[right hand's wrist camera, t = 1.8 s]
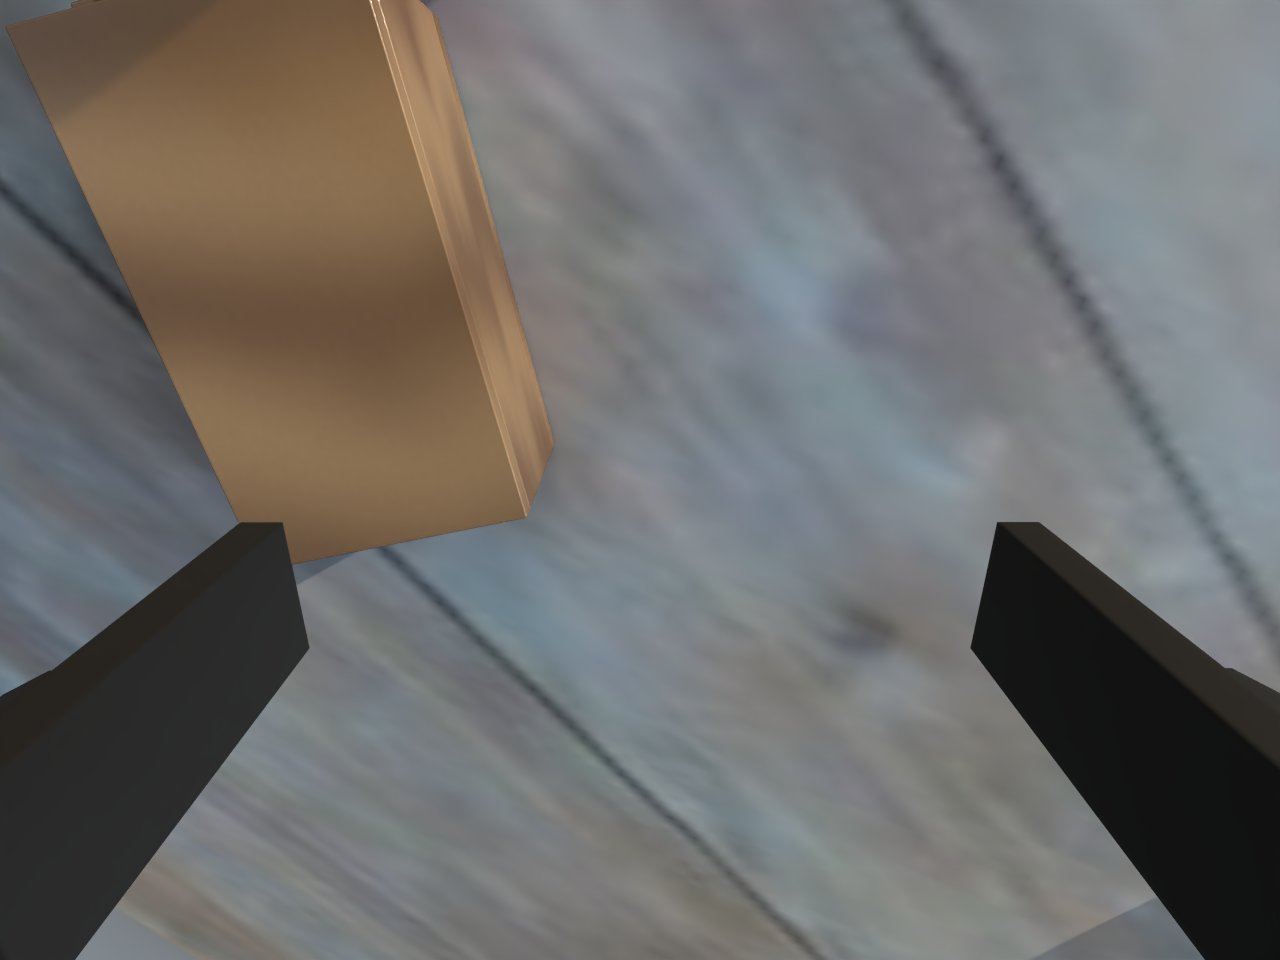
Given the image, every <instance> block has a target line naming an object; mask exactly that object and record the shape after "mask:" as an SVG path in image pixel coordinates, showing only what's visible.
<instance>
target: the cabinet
mask: <svg viewBox="0 0 1280 960" xmlns="http://www.w3.org/2000/svg"><path fill="white" fill-rule="evenodd" d="M6 30H7V32H8V34H9V36H10V38H11V41H12V43H13V45H14V47H15V49H16V51H17V53H18V55H19V58H20V60H21V62H22V64H23V66H24V68H25V70H26V72H27V75H28V77H29V79H30V81H31V83H32V85H33V87H34V89H35V92H36V94H37V96H38V98H39V100H40V102H41V104H42V106H43V109H44V111H45V113H46V115H47V117H48V119H49V121H50V123H51V126H52V128H53V130H54V132H55V134H56V136H57V138H58V140H59V143H60V145H61V147H62V149H63V151H64V153H65V155H66V157H67V160H68V162H69V164H70V166H71V168H72V170H73V172H74V174H75V176H76V179H77V181H78V183H79V185H80V187H81V189H82V191H83V193H84V196H85V198H86V200H87V202H88V204H89V206H90V208H91V210H92V213H93V215H94V217H95V219H96V221H97V223H98V225H99V227H100V230H101V232H102V234H103V236H104V238H105V240H106V242H107V244H108V247H109V249H110V251H111V253H112V255H113V257H114V259H115V261H116V264H117V266H118V268H119V270H120V272H121V274H122V276H123V278H124V281H125V283H126V285H127V287H128V289H129V291H130V293H131V295H132V298H133V300H134V302H135V304H136V306H137V308H138V310H139V312H140V315H141V317H142V319H143V321H144V323H145V325H146V327H147V329H148V332H149V334H150V336H151V338H152V340H153V342H154V344H155V346H156V349H157V351H158V353H159V355H160V357H161V359H162V361H163V363H164V365H165V368H166V370H167V372H168V374H169V376H170V378H171V380H172V382H173V385H174V387H175V389H176V391H177V393H178V395H179V397H180V399H181V402H182V404H183V406H184V408H185V410H186V412H187V414H188V416H189V419H190V421H191V423H192V425H193V427H194V429H195V431H196V433H197V436H198V438H199V440H200V442H201V444H202V446H203V448H204V450H205V453H206V455H207V457H208V459H209V461H210V463H211V465H212V467H213V470H214V472H215V474H216V476H217V478H218V480H219V482H220V484H221V487H222V489H223V491H224V493H225V495H226V497H227V499H228V501H229V504H230V506H231V508H232V510H233V512H234V514H235V516H236V518H237V521H238V523H241V522H283V526H284V531H285V535H286V540H287V545H288V549H289V554H290V559H291V564H297V563H302V562H307V561H312V560H317V559H322V558H327V557H332V556H337V555H342V554H347V553H352V552H357V551H362V550H367V549H372V548H377V547H382V546H387V545H392V544H397V543H402V542H407V541H412V540H417V539H422V538H427V537H432V536H437V535H442V534H447V533H452V532H457V531H462V530H467V529H472V528H477V527H482V526H487V525H492V524H497V523H502V522H507V521H512V520H517V519H522V518H526V517H527V516H528V513H529V510H530V508H531V505H532V503H533V500H534V497H535V495H536V492H537V489H538V487H539V484H540V481H541V479H542V476H543V473H544V471H545V468H546V465H547V462H548V460H549V457H550V454H551V452H552V449H553V446H554V440H553V436H552V432H551V429H550V425H549V421H548V418H547V414H546V410H545V407H544V403H543V399H542V396H541V392H540V389H539V385H538V381H537V378H536V374H535V370H534V367H533V363H532V359H531V356H530V352H529V349H528V345H527V341H526V338H525V334H524V330H523V327H522V323H521V319H520V316H519V312H518V308H517V305H516V301H515V298H514V294H513V290H512V287H511V283H510V279H509V276H508V272H507V268H506V265H505V261H504V258H503V254H502V250H501V247H500V243H499V239H498V236H497V232H496V228H495V225H494V221H493V217H492V214H491V210H490V207H489V203H488V199H487V196H486V192H485V188H484V185H483V181H482V177H481V174H480V170H479V166H478V163H477V159H476V156H475V152H474V148H473V145H472V141H471V137H470V134H469V130H468V126H467V123H466V119H465V116H464V112H463V108H462V105H461V101H460V97H459V94H458V90H457V86H456V83H455V79H454V75H453V72H452V68H451V65H450V61H449V57H448V54H447V50H446V46H445V43H444V39H443V35H442V32H441V28H440V25H439V21H438V18H437V17H436V16H435V15H434V14H433V13H432V12H431V11H430V10H429V9H428V8H427V7H426V6H425V5H424V4H423V3H422V2H421V1H420V0H101V1H97V2H93V3H90V4H86V5H82V6H79V7H75V8H71V9H68V10H64V11H60V12H57V13H53V14H49V15H46V16H42V17H38V18H35V19H31V20H28V21H24V22H20V23H17V24H13V25H9V26H6Z"/></svg>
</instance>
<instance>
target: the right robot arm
mask: <svg viewBox="0 0 1280 960" xmlns="http://www.w3.org/2000/svg"><path fill="white" fill-rule="evenodd" d="M308 649H309V644H308V639H307V634H306V629H305V625H304V620H303V615H302V611H301V606H300V601H299V597H298V592H297V587H296V582H295V578H294V573H293V568H292V564H291V559H290V554H289V549H288V545H287V540H286V535H285V531H284V526H283V522H241V523H239V524H238V525H237V526H236V527H234V528H233V529H232V530H230V531H229V532H228V533H227V534H225V535H224V536H223V537H222V538H220V539H219V540H218V541H216V542H215V543H214V544H213V545H211V546H210V547H209V548H208V549H206V550H205V551H204V552H202V553H201V554H200V555H199V556H197V557H196V558H195V559H194V560H192V561H191V562H190V563H188V564H187V565H186V566H185V567H183V568H182V569H181V570H180V571H178V572H177V573H176V574H174V575H173V576H172V577H171V578H169V579H168V580H167V581H166V582H164V583H163V584H162V585H160V586H159V587H158V588H157V589H155V590H154V591H153V592H152V593H150V594H149V595H148V596H146V597H145V598H144V599H143V600H141V601H140V602H139V603H138V604H136V605H135V606H134V607H132V608H131V609H130V610H129V611H127V612H126V613H125V614H123V615H122V616H121V617H120V618H118V619H117V620H116V621H115V622H113V623H112V624H111V625H109V626H108V627H107V628H106V629H104V630H103V631H102V632H101V633H99V634H98V635H97V636H95V637H94V638H93V639H92V640H90V641H89V642H88V643H87V644H85V645H84V646H83V647H81V648H80V649H79V650H78V651H76V652H75V653H74V654H73V655H71V656H70V657H69V658H67V659H66V660H65V661H64V662H62V663H61V664H60V665H59V666H57V667H56V668H55V669H53V670H52V671H48V672H46V673H44V674H42V675H40V676H38V677H36V678H34V679H32V680H30V681H28V682H27V683H25V684H23V685H21V686H19V687H17V688H15V689H13V690H11V691H9V692H7V693H5V694H4V695H2V696H1V697H0V960H75V959H76V958H77V956H78V955H79V954H80V952H81V951H82V950H83V948H84V947H85V946H86V944H87V943H88V942H89V940H90V939H91V938H92V936H93V935H94V934H95V932H96V931H97V930H98V928H99V927H100V926H101V925H102V923H103V922H104V921H105V919H106V918H107V916H108V915H109V914H110V913H111V911H112V910H113V909H114V907H115V906H116V905H117V903H118V902H119V901H120V899H121V898H122V897H123V895H124V894H125V893H126V891H127V890H128V889H129V887H130V886H131V885H132V883H133V882H134V881H135V879H136V878H137V877H138V875H139V874H140V873H141V871H142V870H143V869H144V867H145V866H146V865H147V863H148V862H149V861H150V859H151V858H152V857H153V855H154V854H155V853H156V851H157V850H158V849H159V847H160V846H161V845H162V843H163V842H164V841H165V839H166V838H167V837H168V835H169V834H170V833H171V831H172V830H173V829H174V827H175V826H176V825H177V824H178V822H179V821H180V820H181V818H182V817H183V816H184V814H185V813H186V812H187V810H188V809H189V808H190V806H191V805H192V804H193V802H194V801H195V800H196V798H197V797H198V796H199V794H200V793H201V792H202V790H203V789H204V788H205V786H206V785H207V784H208V782H209V781H210V780H211V778H212V777H213V776H214V774H215V773H216V772H217V770H218V769H219V768H220V766H221V765H222V764H223V762H224V761H225V760H226V758H227V757H228V756H229V754H230V753H231V752H232V750H233V749H234V748H235V746H236V745H237V744H238V742H239V741H240V740H241V738H242V737H243V736H244V734H245V733H246V732H247V730H248V729H249V728H250V726H251V725H252V724H253V722H254V721H255V720H256V719H257V717H258V716H259V715H260V713H261V712H262V711H263V709H264V708H265V707H266V705H267V704H268V703H269V701H270V700H271V699H272V697H273V696H274V695H275V693H276V692H277V691H278V689H279V688H280V687H281V685H282V684H283V683H284V681H285V680H286V679H287V677H288V676H289V675H290V673H291V672H292V671H293V669H294V668H295V667H296V665H297V664H298V663H299V661H300V660H301V659H302V657H303V656H304V655H305V653H306V652H307V651H308ZM971 649H972V651H973V652H974V653H975V655H976V656H977V657H978V659H979V660H980V661H981V663H982V664H983V665H984V667H985V668H986V669H987V671H988V672H989V673H990V675H991V676H992V677H993V679H994V680H995V681H996V683H997V684H998V685H999V687H1000V688H1001V689H1002V691H1003V692H1004V693H1005V695H1006V696H1007V697H1008V699H1009V700H1010V701H1011V703H1012V704H1013V705H1014V707H1015V708H1016V709H1017V711H1018V712H1019V713H1020V715H1021V716H1022V717H1023V719H1024V720H1025V721H1026V722H1027V724H1028V725H1029V726H1030V728H1031V729H1032V730H1033V732H1034V733H1035V734H1036V736H1037V737H1038V738H1039V740H1040V741H1041V742H1042V744H1043V745H1044V746H1045V748H1046V749H1047V750H1048V752H1049V753H1050V754H1051V756H1052V757H1053V758H1054V760H1055V761H1056V762H1057V764H1058V765H1059V766H1060V768H1061V769H1062V770H1063V772H1064V773H1065V774H1066V776H1067V777H1068V778H1069V780H1070V781H1071V782H1072V784H1073V785H1074V786H1075V788H1076V789H1077V790H1078V792H1079V793H1080V794H1081V796H1082V797H1083V798H1084V800H1085V801H1086V802H1087V804H1088V805H1089V806H1090V808H1091V809H1092V810H1093V812H1094V813H1095V814H1096V816H1097V817H1098V818H1099V820H1100V821H1101V822H1102V824H1103V825H1104V826H1105V827H1106V829H1107V830H1108V831H1109V833H1110V834H1111V835H1112V837H1113V838H1114V839H1115V841H1116V842H1117V843H1118V845H1119V846H1120V847H1121V849H1122V850H1123V851H1124V853H1125V854H1126V855H1127V857H1128V858H1129V859H1130V861H1131V862H1132V863H1133V865H1134V866H1135V867H1136V869H1137V870H1138V871H1139V873H1140V874H1141V875H1142V877H1143V878H1144V879H1145V881H1146V882H1147V883H1148V885H1149V886H1150V887H1151V889H1152V890H1153V891H1154V893H1155V894H1156V895H1157V897H1158V898H1159V899H1160V901H1161V902H1162V903H1163V905H1164V906H1165V907H1166V909H1167V910H1168V911H1169V913H1170V914H1171V915H1172V917H1173V918H1174V919H1175V921H1176V922H1177V923H1178V925H1179V926H1180V927H1181V928H1182V930H1183V931H1184V932H1185V934H1186V935H1187V936H1188V938H1189V939H1190V940H1191V942H1192V943H1193V944H1194V946H1195V947H1196V948H1197V950H1198V951H1199V952H1200V954H1201V955H1202V956H1203V958H1204V959H1205V960H1280V693H1278V692H1277V691H1275V690H1273V689H1271V688H1269V687H1267V686H1265V685H1263V684H1261V683H1259V682H1257V681H1255V680H1253V679H1251V678H1250V677H1248V676H1246V675H1244V674H1242V673H1240V672H1238V671H1236V670H1234V669H1232V668H1224V667H1223V666H1221V665H1220V664H1219V663H1218V662H1216V661H1215V660H1214V659H1213V658H1211V657H1210V656H1209V655H1207V654H1206V653H1205V652H1204V651H1202V650H1201V649H1200V648H1199V647H1197V646H1196V645H1195V644H1193V643H1192V642H1191V641H1190V640H1188V639H1187V638H1186V637H1185V636H1183V635H1182V634H1181V633H1179V632H1178V631H1177V630H1176V629H1174V628H1173V627H1172V626H1171V625H1169V624H1168V623H1167V622H1165V621H1164V620H1163V619H1162V618H1160V617H1159V616H1158V615H1156V614H1155V613H1154V612H1153V611H1151V610H1150V609H1149V608H1148V607H1146V606H1145V605H1144V604H1142V603H1141V602H1140V601H1139V600H1137V599H1136V598H1135V597H1134V596H1132V595H1131V594H1130V593H1128V592H1127V591H1126V590H1125V589H1123V588H1122V587H1121V586H1120V585H1118V584H1117V583H1116V582H1114V581H1113V580H1112V579H1111V578H1109V577H1108V576H1107V575H1106V574H1104V573H1103V572H1102V571H1100V570H1099V569H1098V568H1097V567H1095V566H1094V565H1093V564H1092V563H1090V562H1089V561H1088V560H1086V559H1085V558H1084V557H1083V556H1081V555H1080V554H1079V553H1078V552H1076V551H1075V550H1074V549H1072V548H1071V547H1070V546H1069V545H1067V544H1066V543H1065V542H1064V541H1062V540H1061V539H1060V538H1058V537H1057V536H1056V535H1055V534H1053V533H1052V532H1051V531H1050V530H1048V529H1047V528H1046V527H1044V526H1043V525H1042V524H1041V523H1039V522H997V526H996V531H995V535H994V540H993V545H992V549H991V554H990V559H989V564H988V568H987V573H986V578H985V582H984V587H983V592H982V597H981V601H980V606H979V611H978V615H977V620H976V625H975V629H974V634H973V639H972V644H971Z"/></svg>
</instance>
